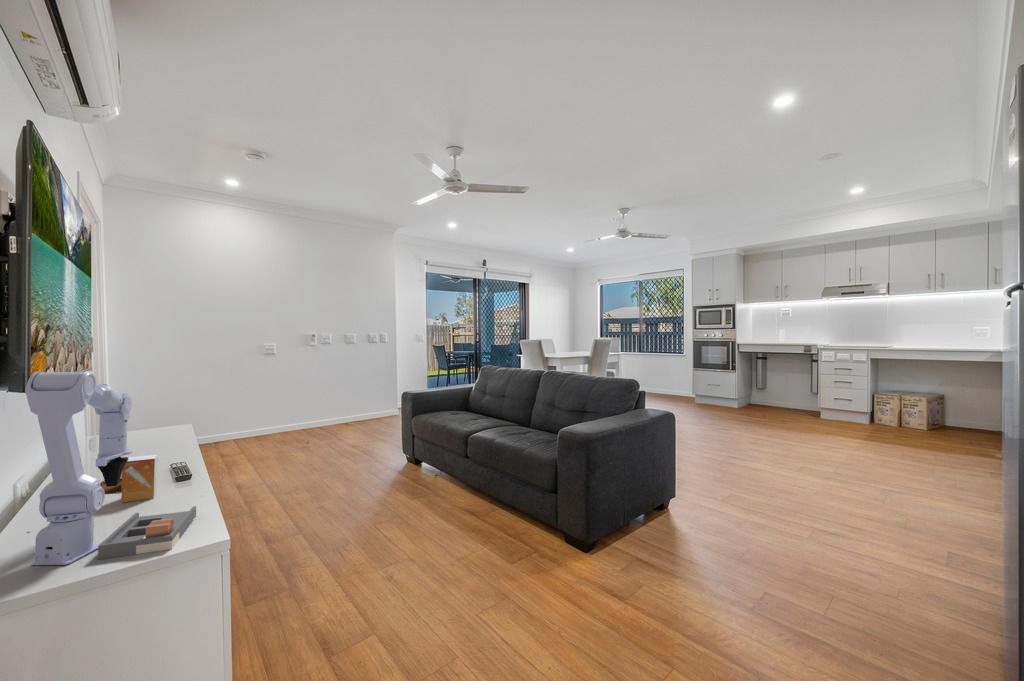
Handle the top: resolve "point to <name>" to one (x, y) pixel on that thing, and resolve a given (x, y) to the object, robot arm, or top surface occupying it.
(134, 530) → the grey divided tray
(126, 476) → the small box
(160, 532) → the block
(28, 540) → the top surface
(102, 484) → the sunglasses case
